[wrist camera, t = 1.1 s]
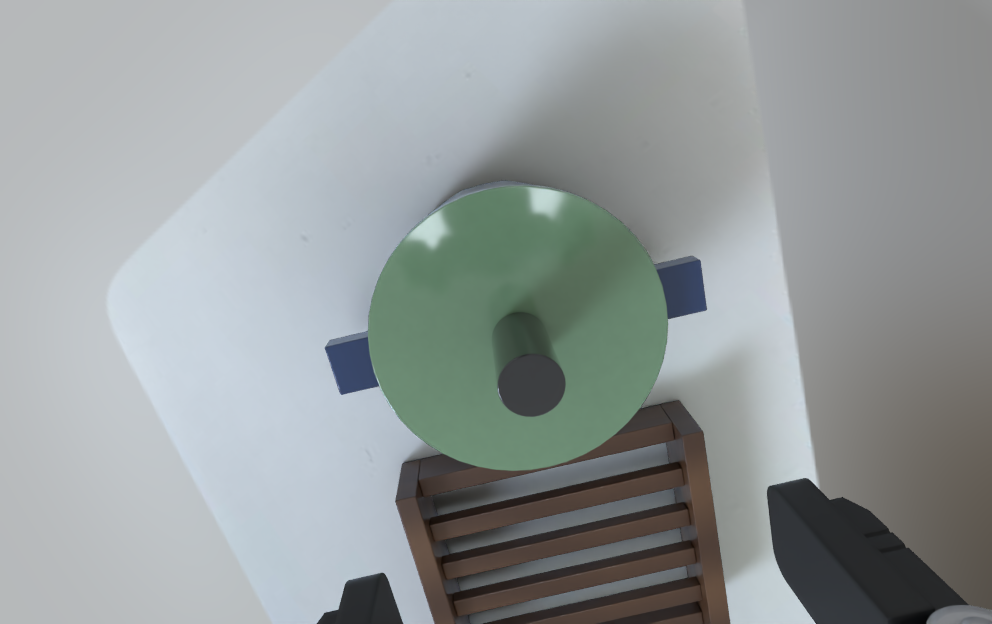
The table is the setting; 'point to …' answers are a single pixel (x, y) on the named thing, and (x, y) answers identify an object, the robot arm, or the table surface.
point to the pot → (675, 275)
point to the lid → (517, 327)
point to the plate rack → (576, 534)
